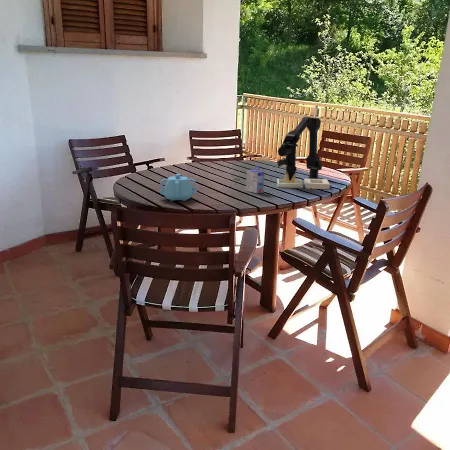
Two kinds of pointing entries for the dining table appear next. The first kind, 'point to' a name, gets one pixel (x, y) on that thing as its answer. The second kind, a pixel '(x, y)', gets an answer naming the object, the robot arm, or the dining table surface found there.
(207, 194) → the dining table surface
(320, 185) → the white square frame
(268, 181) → the dining table surface
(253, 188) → the ink cartridge box
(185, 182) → the decorative pot
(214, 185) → the dining table surface
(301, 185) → the parts tray
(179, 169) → the dining table surface
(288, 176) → the block
